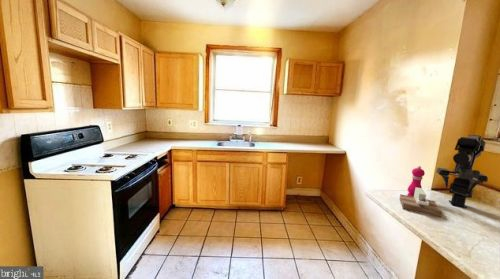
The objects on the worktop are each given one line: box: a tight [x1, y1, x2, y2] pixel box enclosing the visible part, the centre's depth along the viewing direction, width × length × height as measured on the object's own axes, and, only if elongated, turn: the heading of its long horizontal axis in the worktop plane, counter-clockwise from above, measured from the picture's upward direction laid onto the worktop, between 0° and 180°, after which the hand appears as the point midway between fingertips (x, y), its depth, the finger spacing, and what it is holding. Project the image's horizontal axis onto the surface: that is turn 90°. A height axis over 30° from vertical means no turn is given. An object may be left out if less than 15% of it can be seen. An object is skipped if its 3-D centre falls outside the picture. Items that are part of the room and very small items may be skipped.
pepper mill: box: [406, 165, 425, 197], centre depth 130 cm, size 7×7×20 cm
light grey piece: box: [414, 187, 429, 206], centre depth 118 cm, size 14×4×6 cm, turn 152°
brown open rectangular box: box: [399, 194, 443, 218], centre depth 118 cm, size 14×16×8 cm
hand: (457, 189), depth 115 cm, fingers open, 9 cm apart
